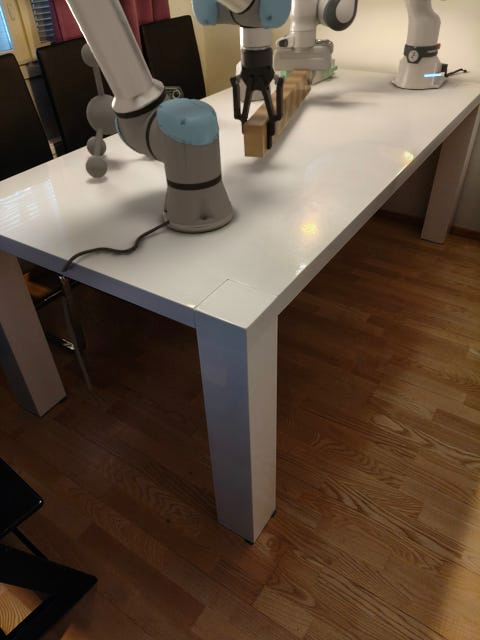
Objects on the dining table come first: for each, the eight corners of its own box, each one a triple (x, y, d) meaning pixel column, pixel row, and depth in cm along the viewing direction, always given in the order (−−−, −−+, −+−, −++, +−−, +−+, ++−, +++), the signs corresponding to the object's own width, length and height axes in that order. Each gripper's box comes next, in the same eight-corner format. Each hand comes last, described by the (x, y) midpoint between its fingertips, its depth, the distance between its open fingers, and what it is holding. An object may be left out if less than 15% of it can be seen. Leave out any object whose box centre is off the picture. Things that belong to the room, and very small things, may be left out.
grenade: (164, 121, 167) (160, 89, 161) (170, 116, 172) (166, 85, 166) (182, 121, 166) (179, 89, 160) (188, 116, 170) (184, 85, 164)
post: (263, 157, 124) (262, 125, 119) (244, 156, 125) (243, 124, 120) (311, 89, 176) (312, 65, 172) (297, 89, 178) (298, 65, 173)
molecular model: (172, 168, 131) (155, 42, 113) (90, 184, 125) (57, 53, 107) (152, 143, 149) (134, 30, 130) (79, 156, 143) (49, 39, 124)
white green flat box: (303, 54, 216) (344, 57, 207) (302, 70, 220) (342, 74, 211) (271, 65, 200) (314, 69, 191) (271, 82, 204) (314, 87, 195)
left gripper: (297, 44, 114) (295, 144, 129) (224, 44, 119) (230, 141, 133) (291, 49, 109) (289, 153, 123) (215, 50, 113) (222, 150, 127)
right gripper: (335, 37, 162) (332, 82, 171) (275, 38, 168) (275, 82, 176) (332, 40, 158) (330, 87, 166) (271, 41, 163) (271, 86, 171)
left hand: (259, 147), depth 128 cm, fingers closed on post, 5 cm apart
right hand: (301, 84), depth 171 cm, fingers closed on post, 5 cm apart
